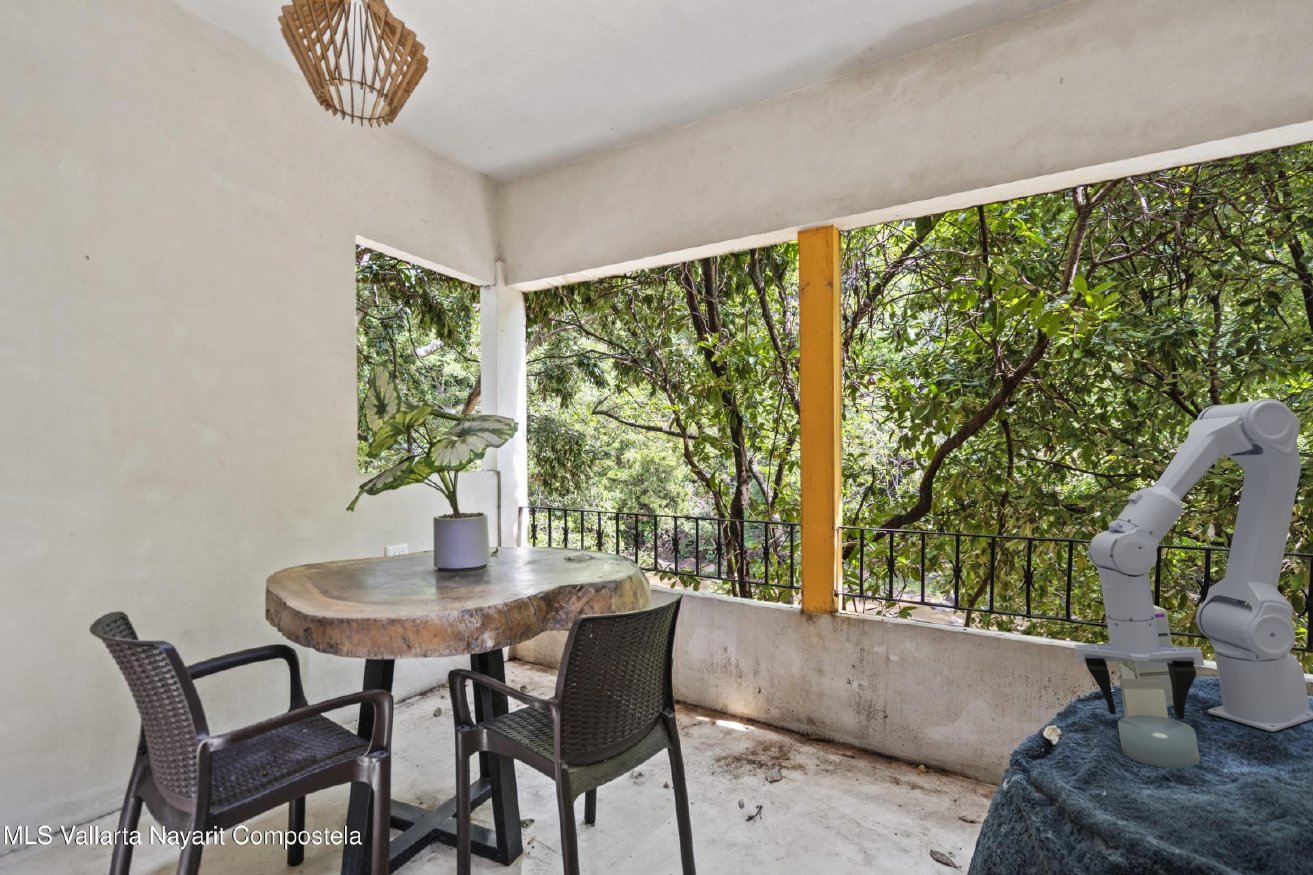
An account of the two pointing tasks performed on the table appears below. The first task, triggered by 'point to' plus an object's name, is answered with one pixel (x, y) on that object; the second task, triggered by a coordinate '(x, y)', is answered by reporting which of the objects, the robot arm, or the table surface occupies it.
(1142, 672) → the syrup box
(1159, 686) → the cream block
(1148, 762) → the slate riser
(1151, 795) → the table surface
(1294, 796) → the table surface
